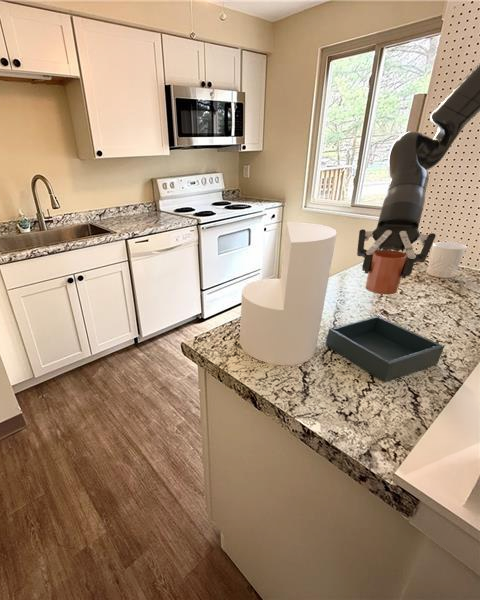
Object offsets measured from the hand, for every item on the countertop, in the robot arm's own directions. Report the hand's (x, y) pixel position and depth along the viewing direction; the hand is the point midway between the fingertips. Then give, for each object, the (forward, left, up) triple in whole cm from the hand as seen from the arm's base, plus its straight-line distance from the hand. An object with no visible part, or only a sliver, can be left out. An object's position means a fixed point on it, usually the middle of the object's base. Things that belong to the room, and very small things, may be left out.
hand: (384, 274), depth 69 cm
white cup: (-51, -18, -16) cm, 56 cm away
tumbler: (-1, -1, -4) cm, 5 cm away
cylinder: (+22, -6, -16) cm, 28 cm away
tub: (+5, +6, -16) cm, 18 cm away
